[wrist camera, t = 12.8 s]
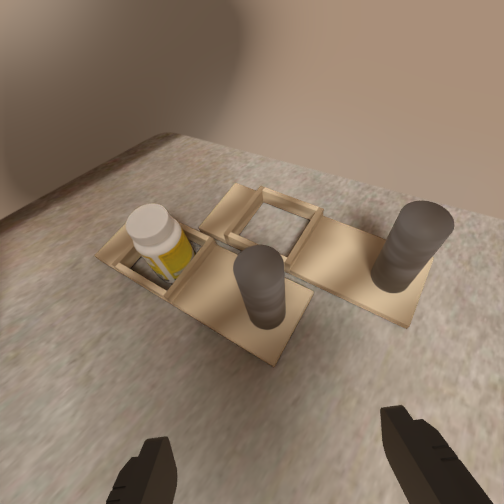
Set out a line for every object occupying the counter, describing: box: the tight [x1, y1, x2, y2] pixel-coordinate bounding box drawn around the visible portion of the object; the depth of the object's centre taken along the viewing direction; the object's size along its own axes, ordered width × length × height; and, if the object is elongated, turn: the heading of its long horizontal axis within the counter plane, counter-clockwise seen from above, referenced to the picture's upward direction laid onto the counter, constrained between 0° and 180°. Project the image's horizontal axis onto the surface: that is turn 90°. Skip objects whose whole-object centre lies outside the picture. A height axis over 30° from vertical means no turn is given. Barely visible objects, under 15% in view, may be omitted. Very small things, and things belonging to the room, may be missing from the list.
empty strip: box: [199, 183, 454, 329], centre depth 28 cm, size 24×8×10 cm, turn 58°
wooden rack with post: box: [94, 221, 314, 367], centre depth 28 cm, size 24×8×10 cm, turn 58°
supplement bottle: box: [126, 203, 196, 283], centre depth 30 cm, size 5×5×8 cm
